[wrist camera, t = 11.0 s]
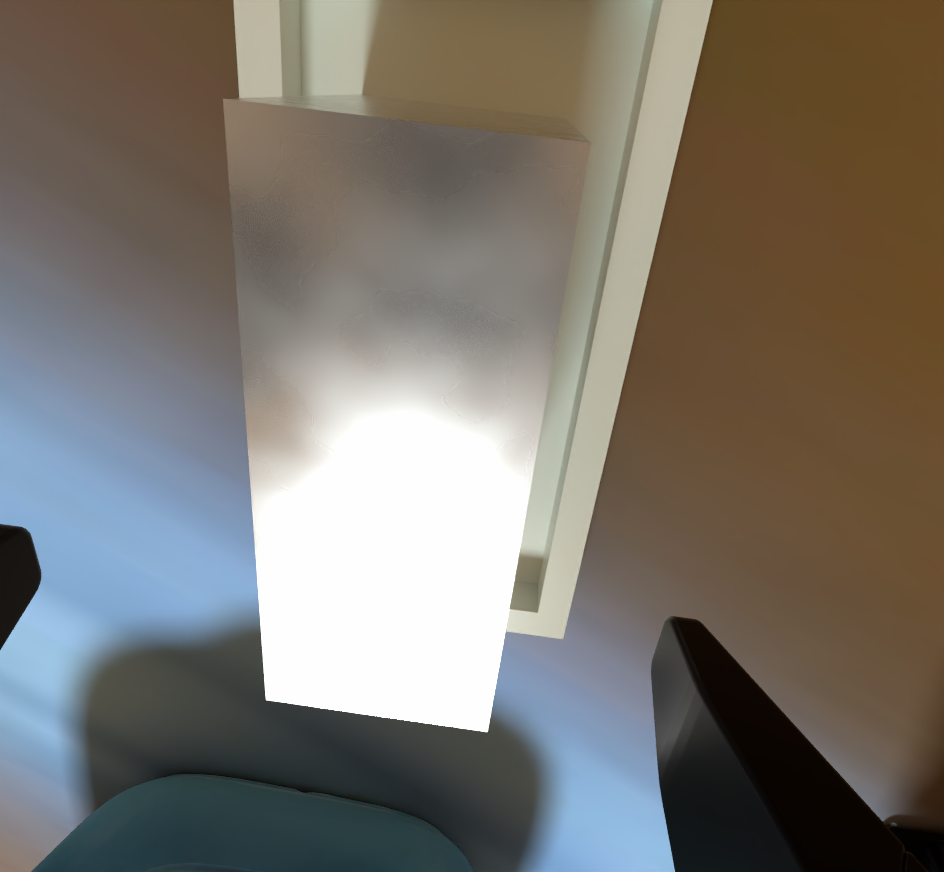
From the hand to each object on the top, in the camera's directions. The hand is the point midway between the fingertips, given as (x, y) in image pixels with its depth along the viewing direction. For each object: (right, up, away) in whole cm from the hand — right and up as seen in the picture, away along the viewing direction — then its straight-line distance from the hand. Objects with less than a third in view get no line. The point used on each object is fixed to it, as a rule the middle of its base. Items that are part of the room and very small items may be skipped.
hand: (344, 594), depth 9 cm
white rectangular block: (+1, +5, +10) cm, 11 cm away
